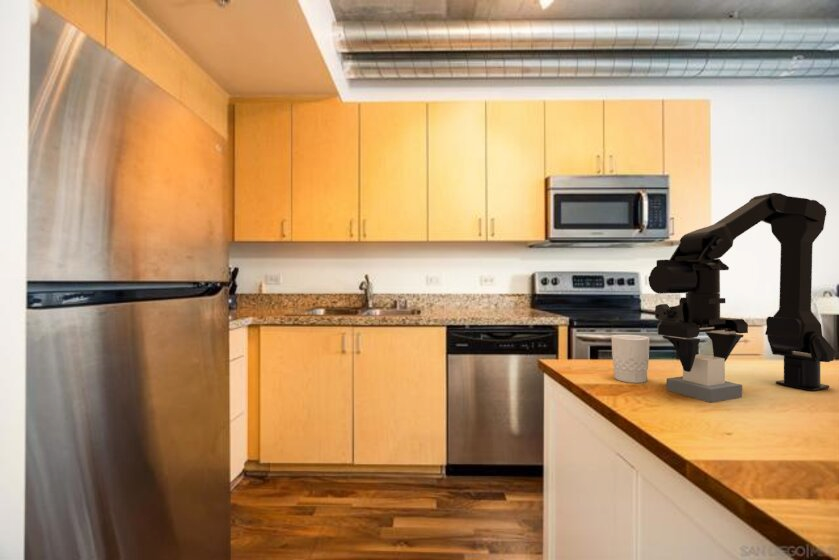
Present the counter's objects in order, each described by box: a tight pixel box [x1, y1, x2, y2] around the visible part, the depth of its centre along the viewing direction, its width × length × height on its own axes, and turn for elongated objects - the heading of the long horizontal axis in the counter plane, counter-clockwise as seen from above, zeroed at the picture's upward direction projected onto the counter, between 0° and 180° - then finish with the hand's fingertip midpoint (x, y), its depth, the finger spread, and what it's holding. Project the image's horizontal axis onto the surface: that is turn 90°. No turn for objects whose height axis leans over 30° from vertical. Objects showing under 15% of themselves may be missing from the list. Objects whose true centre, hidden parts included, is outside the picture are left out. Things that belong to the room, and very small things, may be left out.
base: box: [666, 375, 743, 403], centre depth 81 cm, size 9×9×2 cm
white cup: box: [611, 334, 651, 384], centre depth 92 cm, size 8×8×10 cm
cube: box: [682, 353, 726, 386], centre depth 80 cm, size 5×5×5 cm
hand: (703, 369), depth 81 cm, fingers open, 9 cm apart
